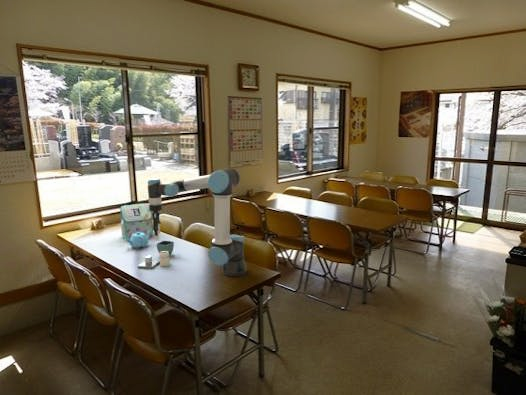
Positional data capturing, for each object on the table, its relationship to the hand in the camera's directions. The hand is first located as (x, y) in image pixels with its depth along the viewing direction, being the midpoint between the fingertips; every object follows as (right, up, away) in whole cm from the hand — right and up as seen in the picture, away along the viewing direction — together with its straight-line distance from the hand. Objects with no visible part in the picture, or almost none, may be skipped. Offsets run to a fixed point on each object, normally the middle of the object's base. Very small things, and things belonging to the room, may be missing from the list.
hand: (157, 237), depth 240 cm
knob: (+2, -19, +10) cm, 21 cm away
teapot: (-26, -12, +45) cm, 53 cm away
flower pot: (-1, -15, +26) cm, 31 cm away
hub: (-8, -19, +8) cm, 22 cm away
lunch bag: (-35, -7, +69) cm, 77 cm away
